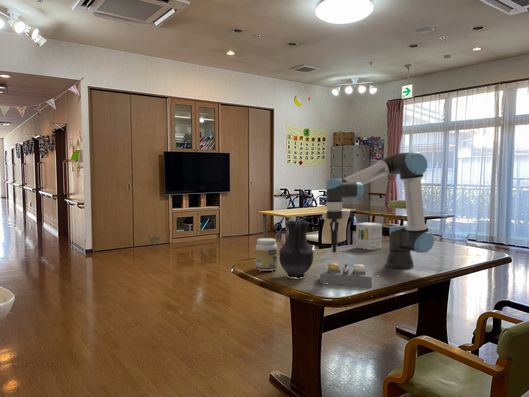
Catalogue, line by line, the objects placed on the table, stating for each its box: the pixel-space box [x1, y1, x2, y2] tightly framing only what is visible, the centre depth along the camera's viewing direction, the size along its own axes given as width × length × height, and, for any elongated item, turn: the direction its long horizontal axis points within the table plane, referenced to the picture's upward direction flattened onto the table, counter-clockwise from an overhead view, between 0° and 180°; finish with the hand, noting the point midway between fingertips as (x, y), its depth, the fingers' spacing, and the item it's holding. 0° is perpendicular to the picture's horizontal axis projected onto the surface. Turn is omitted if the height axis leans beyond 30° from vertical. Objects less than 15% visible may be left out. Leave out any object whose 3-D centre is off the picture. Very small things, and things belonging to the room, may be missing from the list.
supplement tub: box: [255, 237, 278, 270], centre depth 218 cm, size 12×12×17 cm
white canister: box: [355, 221, 383, 251], centre depth 281 cm, size 13×13×18 cm
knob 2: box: [352, 263, 366, 275], centre depth 191 cm, size 5×5×8 cm
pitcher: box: [278, 220, 314, 278], centre depth 200 cm, size 17×21×30 cm
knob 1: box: [327, 262, 340, 273], centre depth 194 cm, size 5×5×8 cm
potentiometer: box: [342, 263, 350, 274], centre depth 190 cm, size 3×3×4 cm
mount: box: [319, 267, 373, 288], centre depth 193 cm, size 24×12×5 cm, turn 75°
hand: (334, 258), depth 194 cm, fingers closed
